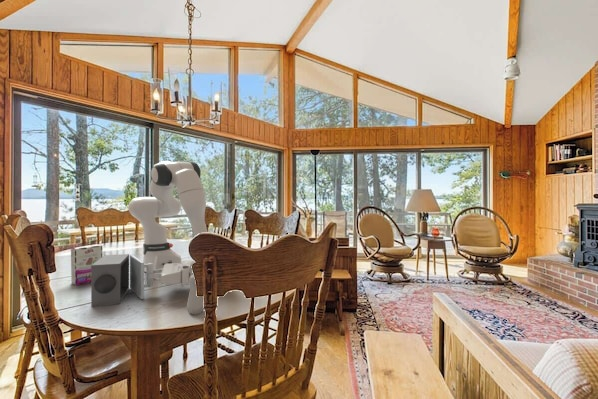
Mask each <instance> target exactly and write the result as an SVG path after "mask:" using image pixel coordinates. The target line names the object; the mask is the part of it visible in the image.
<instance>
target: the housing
mask: <svg viewBox="0 0 598 399" xmlns="http://www.w3.org/2000/svg"><path fill="white" fill-rule="evenodd" d="M90 284H91V290H90V292H91V298H90V302H91V304H90V306H91V308H92V307H101V306H111V305H119V304H121V303H122V301H123V299H124V298H125V297H126V295H127V293H128V292H129V289H130V253H124V254H106V255H105V254H104V255H102V258H100V259H99V260H98V261H96V262H95V263H94V264H92V265H91V282H90Z"/></svg>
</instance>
